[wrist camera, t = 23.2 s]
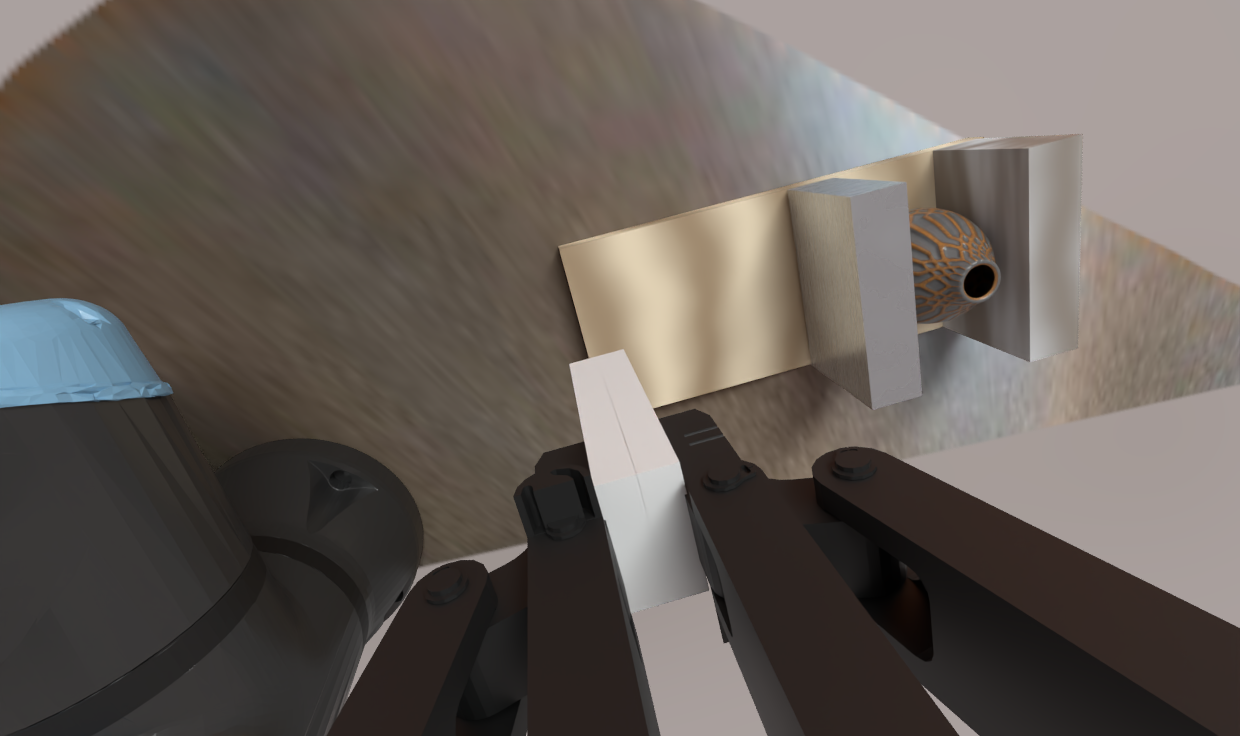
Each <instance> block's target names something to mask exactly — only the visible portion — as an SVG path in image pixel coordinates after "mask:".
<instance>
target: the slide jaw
mask: <svg viewBox="0 0 1240 736" xmlns="http://www.w3.org/2000/svg"><path fill="white" fill-rule="evenodd" d="M787 191H788V198H789V205H790V213H791V220H792V227H793V234H794V241H795V248H796V256H797V263H798V270H799V277H800V284H801V291H802V299H803V306H804V313H805V320H806V327H807V334H808V342H809V349H810V356H811V363H812V366H813V367H814V368H816V369H817V370H818V371H820V372H821V373H823V374H824V375H825V376H827V377H828V378H829V379H831V380H832V381H833V382H835V383H836V384H838V385H839V386H840V387H842V388H843V389H844V390H846V391H847V392H849V393H850V394H851V395H853V396H854V397H855V398H857V399H858V400H860V401H861V402H862V403H864V404H865V405H866V406H868V407H869V408H871V409H872V410H874V409H878V408H881V407H885V406H888V405H892V404H895V403H899V402H902V401H906V400H909V399H913V398H916V397H920V396H922V386H921V372H920V359H919V345H918V331H917V318H916V304H915V291H914V277H913V264H912V250H911V236H910V223H909V209H908V196H907V182H897V181H880V180H863V179H846V178H830V179H826V180H822V181H819V182H815V183H811V184H807V185H804V186H800V187H796V188H792V189H789V190H787Z"/></svg>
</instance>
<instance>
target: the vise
mask: <svg viewBox="0 0 1240 736" xmlns="http://www.w3.org/2000/svg"><path fill="white" fill-rule="evenodd" d="M1082 148H1083V134H1070V135H1048V136H1029V137H1028V136H1027V137H1005V138H984V137H973V138H965V139H962V140H958V141H954V142H950V143H947V144H943V145H939V146H935V147H931V148H928V149H924V150H920V151H916V152H913V153H909V154H905V155H901V156H897V157H894V158H890V159H886V160H882V161H879V162H875V163H871V164H867V165H863V166H860V167H856V168H852V169H848V170H845V171H841V172H837V173H833V174H829V175H826V176H822V177H818V178H814V179H811V180H807V181H803V182H799V183H795V184H792V185H788V186H784V187H780V188H777V189H773V190H769V191H765V192H762V193H758V194H754V195H750V196H746V197H743V198H739V199H735V200H731V201H728V202H724V203H720V204H716V205H712V206H709V207H705V208H701V209H697V210H694V211H690V212H686V213H682V214H678V215H675V216H671V217H667V218H663V219H660V220H656V221H652V222H648V223H644V224H641V225H637V226H633V227H629V228H626V229H622V230H618V231H614V232H610V233H607V234H603V235H599V236H595V237H592V238H588V239H584V240H580V241H576V242H573V243H569V244H565V245H561V246H558V247H559V251H560V255H561V258H562V262H563V266H564V269H565V273H566V276H567V280H568V284H569V287H570V291H571V295H572V298H573V302H574V306H575V309H576V313H577V317H578V320H579V324H580V328H581V331H582V335H583V339H584V342H585V346H586V349H587V353H588V357H589V358H593V357H596V356H600V355H604V354H607V353H611V352H615V351H618V350H622V349H624V351H625V353H626V355H627V357H628V359H629V361H630V363H631V365H632V367H633V369H634V371H635V373H636V375H637V377H638V379H639V381H640V383H641V385H642V387H643V389H644V391H645V393H646V395H647V397H648V399H649V401H650V404H651V406H652V408H657V407H660V406H664V405H667V404H671V403H674V402H678V401H681V400H685V399H689V398H692V397H696V396H699V395H703V394H706V393H710V392H713V391H717V390H721V389H724V388H728V387H731V386H735V385H738V384H742V383H745V382H749V381H753V380H756V379H760V378H763V377H767V376H770V375H774V374H777V373H781V372H785V371H788V370H792V369H795V368H799V367H802V366H806V365H810V364H812V363H811V356H810V349H809V342H808V334H807V327H806V320H805V313H804V306H803V299H802V291H801V284H800V277H799V270H798V263H797V256H796V248H795V241H794V234H793V227H792V220H791V213H790V205H789V198H788V191H787V190H789V189H792V188H796V187H800V186H804V185H807V184H811V183H815V182H819V181H822V180H826V179H830V178H846V179H863V180H880V181H897V182H907V196H908V209H909V210H910V209H915V208H939V209H945V210H949V211H952V212H955V213H958V214H960V215H962V216H964V217H966V218H967V219H969V220H970V221H972V222H973V223H975V224H976V225H977V226H978V227H979V228H980V229H981V230H982V231H983V232H984V233H985V235H986V236H987V238H988V239H989V241H990V243H991V245H992V248H993V251H994V256H995V263H996V264H997V266H998V267H999V270H1000V274H1001V280H1000V284H999V287H998V289H997V291H996V292H995V293H994V295H993V296H992V297H991V298H989V299H988V300H986V301H984V302H982V303H979V304H977V305H976V306H975V307H973V308H972V309H971V310H969V311H968V312H966V313H965V314H963V315H961V316H959V317H957V318H955V319H952V320H949V321H945V322H940V323H932V324H918V323H917V331H918V334H920V333H923V332H927V331H931V330H934V329H938V328H941V327H944V328H947V329H949V330H952V331H954V332H957V333H959V334H962V335H964V336H967V337H969V338H972V339H974V340H977V341H979V342H982V343H984V344H987V345H989V346H992V347H994V348H996V349H999V350H1001V351H1004V352H1006V353H1009V354H1011V355H1014V356H1016V357H1019V358H1021V359H1024V360H1026V361H1029V362H1032V361H1036V360H1039V359H1043V358H1046V357H1050V356H1053V355H1057V354H1060V353H1064V352H1067V351H1071V350H1074V349H1078V327H1079V282H1080V237H1081V193H1082V192H1081V190H1082Z"/></svg>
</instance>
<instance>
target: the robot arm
mask: <svg viewBox="0 0 1240 736" xmlns="http://www.w3.org/2000/svg"><path fill="white" fill-rule="evenodd" d="M569 365H570V370H571V375H572V380H573V385H574V391H575V396H576V401H577V406H578V411H579V416H580V421H581V426H582V431H583V437H584V442H581V443H577V444H574V445H570V446H567V447H563V448H559V449H556V450H552V451H549V452H545V453H543V455H542V456H541V458H540V459H539V461H538V463H537V464H536V466H535V474H534V475H532V476H530V477H529V478H527V479H525V480H524V481H523V482H522V483H521V484H520V485H519V486H518V487H517V489H516V491H515V494H514V500H515V503H516V506H517V509H518V512H519V514H520V517H521V520H522V523H523V526H524V529H525V532H526V535H527V538H528V548H527V549H526V550H525V551H524V552H523V553H522V554H520V555H519V556H518V557H517V558H515V559H514V560H512V561H510V562H509V563H507V564H506V565H503V566H502V567H500V568H498V569H496V570H494V571H492V572H490V573H488V572H487V570H486V568H485V566H484V564H481V563H479V562H477V561H475V560H460V561H456V562H452V563H448V564H445V565H442V566H440V567H439V568H436V569H434V570H433V571H432V572H430V573H429V574H427V575H426V576H425V577H423V578H422V579H421V580H420V581H418V582H417V584H416V585H415V586H414V587H413V588H412V590H411V591H410V592H409V590H410V588H411V586H412V584H413V581H414V579H415V576H416V572H417V569H418V565H419V561H420V558H421V554H422V549H423V527H422V521H421V517H420V514H419V511H418V508H417V506H416V504H415V502H414V500H413V498H412V496H411V494H410V493H409V491H408V490H407V488H406V487H405V486H404V485H403V483H402V482H401V481H400V480H399V479H398V478H397V477H396V476H395V475H394V474H393V473H392V472H391V471H390V470H389V469H387V468H386V467H385V466H384V465H382V464H381V463H379V462H378V461H377V460H375V459H373V458H372V457H370V456H368V455H366V454H364V453H362V452H360V451H358V450H355V449H353V448H350V447H348V446H345V445H341V444H338V443H334V442H329V441H323V440H316V439H286V440H278V441H273V442H269V443H264V444H261V445H258V446H255V447H253V448H250V449H248V450H246V451H243V452H241V453H240V454H238V455H236V456H234V457H233V458H231V459H230V460H228V461H227V462H226V463H224V464H223V465H222V466H221V467H220V468H219V469H217V470H216V471H215V472H214V473H213V471H212V469H211V467H210V466H209V464H208V462H207V460H206V459H205V457H204V455H203V454H202V452H201V450H200V448H199V447H198V445H197V443H196V441H195V440H194V438H193V436H192V434H191V432H190V431H189V429H188V427H187V425H186V423H185V421H184V420H183V418H182V416H181V414H180V412H179V410H178V409H177V407H176V405H175V403H174V401H173V399H172V398H171V396H170V394H173V391H172V389H171V387H170V386H169V384H168V383H165V382H162V381H161V380H160V378H159V377H158V375H157V374H156V372H155V371H154V369H153V368H152V366H151V365H150V363H149V362H148V361H147V359H146V358H145V356H144V355H143V353H142V352H141V350H140V349H139V347H138V346H137V344H136V343H135V341H134V340H133V338H132V337H131V335H130V333H129V332H128V330H127V329H126V327H125V326H124V324H123V323H122V322H121V321H120V320H119V319H118V318H117V317H116V316H115V315H113V314H112V313H111V312H109V311H108V310H106V309H104V308H102V307H100V306H98V305H95V304H93V303H90V302H86V301H82V300H77V299H66V298H55V299H44V300H35V301H27V302H20V303H13V304H6V305H0V736H526V733H528V735H527V736H660V732H659V727H658V723H657V719H656V715H655V710H654V705H653V701H652V697H651V693H650V688H649V684H648V679H647V675H646V671H645V666H644V662H643V658H642V654H641V649H640V645H639V640H638V636H637V632H636V629H635V625H634V622H633V619H632V615H631V613H635V612H638V611H641V610H645V609H648V608H651V607H655V606H658V605H661V604H665V603H669V602H672V601H675V600H679V599H682V598H685V597H689V596H692V595H696V594H699V593H702V592H706V591H709V587H708V583H707V579H708V581H709V583H710V586H711V590H712V594H713V599H714V603H715V607H716V612H717V616H718V620H719V625H720V629H721V633H722V638H723V642H724V643H727V642H729V643H730V645H731V648H732V650H733V652H734V655H735V657H736V660H737V662H738V665H739V667H740V669H741V672H742V674H743V677H744V679H745V682H746V684H747V686H748V689H749V691H750V694H751V696H752V699H753V701H754V704H755V706H756V709H757V711H758V713H759V716H760V718H761V721H762V723H763V725H764V728H765V730H766V733H767V735H768V736H959V735H958V734H957V732H956V731H955V729H954V728H953V727H952V725H951V724H950V723H949V722H948V720H947V719H946V717H945V716H944V715H943V713H942V712H941V711H940V709H939V708H938V706H937V705H936V704H935V702H934V701H933V700H932V698H931V697H930V696H929V694H928V693H927V692H926V690H925V689H924V688H923V686H924V687H925V688H926V689H927V690H928V691H930V692H931V693H932V694H933V695H934V696H935V697H936V698H937V699H939V700H940V701H941V702H942V703H943V704H944V705H945V706H947V707H948V708H949V709H950V710H951V711H952V712H953V713H954V714H956V715H957V716H958V717H959V718H960V719H961V720H962V721H964V722H965V723H966V724H967V725H968V726H969V727H970V728H971V729H973V730H974V731H975V732H976V733H977V734H978V735H979V736H1240V628H1238V627H1236V626H1234V625H1232V624H1230V623H1228V622H1226V621H1224V620H1222V619H1220V618H1218V617H1216V616H1214V615H1212V614H1210V613H1208V612H1206V611H1204V610H1202V609H1200V608H1198V607H1196V606H1194V605H1192V604H1190V603H1188V602H1186V601H1184V600H1182V599H1180V598H1178V597H1176V596H1174V595H1172V594H1170V593H1168V592H1166V591H1164V590H1162V589H1159V588H1158V587H1155V586H1154V585H1152V584H1150V583H1147V582H1145V581H1143V580H1141V579H1139V578H1137V577H1135V576H1133V575H1131V574H1129V573H1127V572H1125V571H1123V570H1121V569H1119V568H1117V567H1115V566H1113V565H1111V564H1109V563H1107V562H1105V561H1103V560H1101V559H1099V558H1097V557H1095V556H1093V555H1091V554H1089V553H1087V552H1084V551H1083V550H1081V549H1079V548H1077V547H1075V546H1073V545H1071V544H1069V543H1067V542H1065V541H1063V540H1061V539H1058V538H1057V537H1055V536H1052V535H1050V534H1048V533H1046V532H1044V531H1042V530H1040V529H1038V528H1036V527H1034V526H1032V525H1030V524H1028V523H1026V522H1024V521H1022V520H1020V519H1018V518H1016V517H1014V516H1012V515H1010V514H1008V513H1006V512H1004V511H1002V510H1000V509H998V508H996V507H994V506H992V505H990V504H988V503H986V502H984V501H982V500H980V499H978V498H976V497H974V496H971V495H970V494H968V493H966V492H964V491H961V490H959V489H957V488H955V487H953V486H951V485H949V484H947V483H945V482H943V481H941V480H939V479H937V478H935V477H933V476H931V475H929V474H927V473H925V472H923V471H921V470H919V469H917V468H915V467H913V466H911V465H909V464H907V463H905V462H903V461H901V460H899V459H897V458H895V457H893V456H891V455H889V454H887V453H884V452H881V451H878V450H875V449H872V448H863V447H849V448H847V447H845V448H840V449H837V450H834V451H831V452H828V453H826V454H824V455H822V456H821V457H819V458H818V459H816V461H815V463H814V464H813V466H812V473H813V478H805V479H794V480H776V479H768V478H767V476H766V475H765V473H764V472H763V471H762V470H761V469H760V468H759V467H757V466H756V465H755V464H753V463H749V462H746V461H743V460H741V459H740V458H739V456H738V455H737V453H736V452H735V450H734V449H733V448H732V446H731V445H730V443H729V442H728V441H727V439H726V438H725V436H723V433H722V432H721V431H720V429H719V428H718V427H717V425H716V424H715V422H714V421H713V419H712V418H711V416H710V415H708V414H705V413H703V412H701V411H698V410H696V409H692V410H689V411H685V412H682V413H678V414H675V415H671V416H667V417H664V418H660V419H658V418H657V416H656V414H655V412H654V410H653V408H652V406H651V404H650V401H649V399H648V397H647V395H646V393H645V391H644V389H643V387H642V385H641V383H640V381H639V379H638V377H637V375H636V373H635V371H634V369H633V367H632V365H631V363H630V361H629V359H628V357H627V355H626V353H625V351H624V349H622V350H618V351H615V352H611V353H607V354H604V355H600V356H596V357H593V358H589V359H585V360H582V361H578V362H574V363H571V364H569ZM706 576H707V578H706ZM408 592H409V594H408ZM407 594H408V595H407ZM406 595H407V597H406ZM405 597H406V599H405V601H404V603H403V604H402V606H401V607H400V609H399V611H398V613H397V614H396V616H395V618H394V620H393V621H392V623H391V625H390V626H389V628H388V630H387V632H386V633H385V635H384V637H383V639H382V640H381V642H380V644H379V646H378V647H377V649H376V651H375V652H374V654H373V656H372V658H371V660H370V661H369V663H368V665H367V666H366V668H365V670H364V671H363V673H362V675H361V677H360V678H359V680H358V682H357V684H356V685H355V687H354V689H353V691H352V692H351V694H350V696H349V697H348V694H349V691H350V688H351V685H352V682H353V679H354V676H355V673H356V670H357V667H358V664H359V661H360V658H361V655H362V652H363V649H364V646H365V644H366V643H367V642H368V641H369V640H370V638H371V637H372V636H373V635H374V634H375V633H376V632H377V631H378V629H379V628H380V627H381V626H382V624H383V622H384V621H385V620H386V619H388V618H389V617H390V616H391V615H392V614H393V612H394V611H395V610H396V609H397V608H398V606H399V605H400V604H401V603H402V601H403V600H404V598H405ZM920 683H921V684H922V685H923V686H922V685H921V684H920ZM347 697H348V699H347ZM346 700H347V701H346Z"/></svg>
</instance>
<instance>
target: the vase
mask: <svg viewBox="0 0 1240 736" xmlns="http://www.w3.org/2000/svg"><path fill="white" fill-rule="evenodd" d="M909 223H910V236H911V250H912V264H913V277H914V291H915V304H916V318H917V323H918V324H932V323H940V322H945V321H949V320H952V319H955V318H957V317H959V316H961V315H963V314H965V313H966V312H968V311H969V310H971V309H972V308H973V307H975V306H976V305H977V304H979V303H982V302H984V301H986V300H988V299H989V298H991V297H992V296H993V295H994V293H995V292H996V291H997V289H998V287H999V284H1000V280H1001V274H1000V270H999V267H998V266H997V264H996V263H995V256H994V251H993V248H992V245H991V243H990V241H989V239H988V238H987V236H986V235H985V233H984V232H983V231H982V230H981V229H980V228H979V227H978V226H977V225H976V224H975V223H973V222H972V221H970V220H969V219H967V218H966V217H964V216H962V215H960V214H958V213H955V212H952V211H949V210H945V209H939V208H915V209H910V210H909Z"/></svg>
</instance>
